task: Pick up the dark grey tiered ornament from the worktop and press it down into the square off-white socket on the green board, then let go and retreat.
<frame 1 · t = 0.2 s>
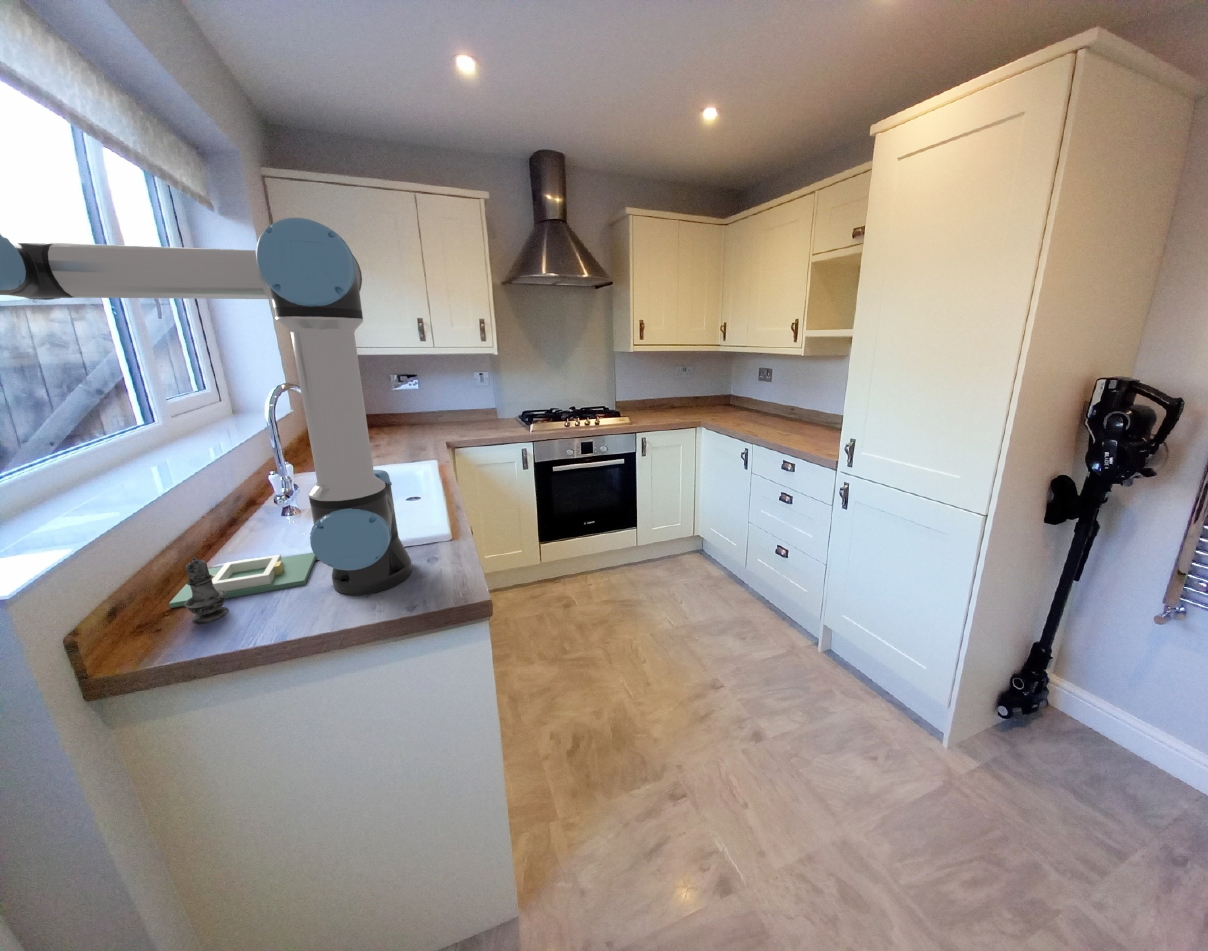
header board: (251, 579, 97), on the counter
dark grey tiered ornament: (210, 616, 85), on the counter
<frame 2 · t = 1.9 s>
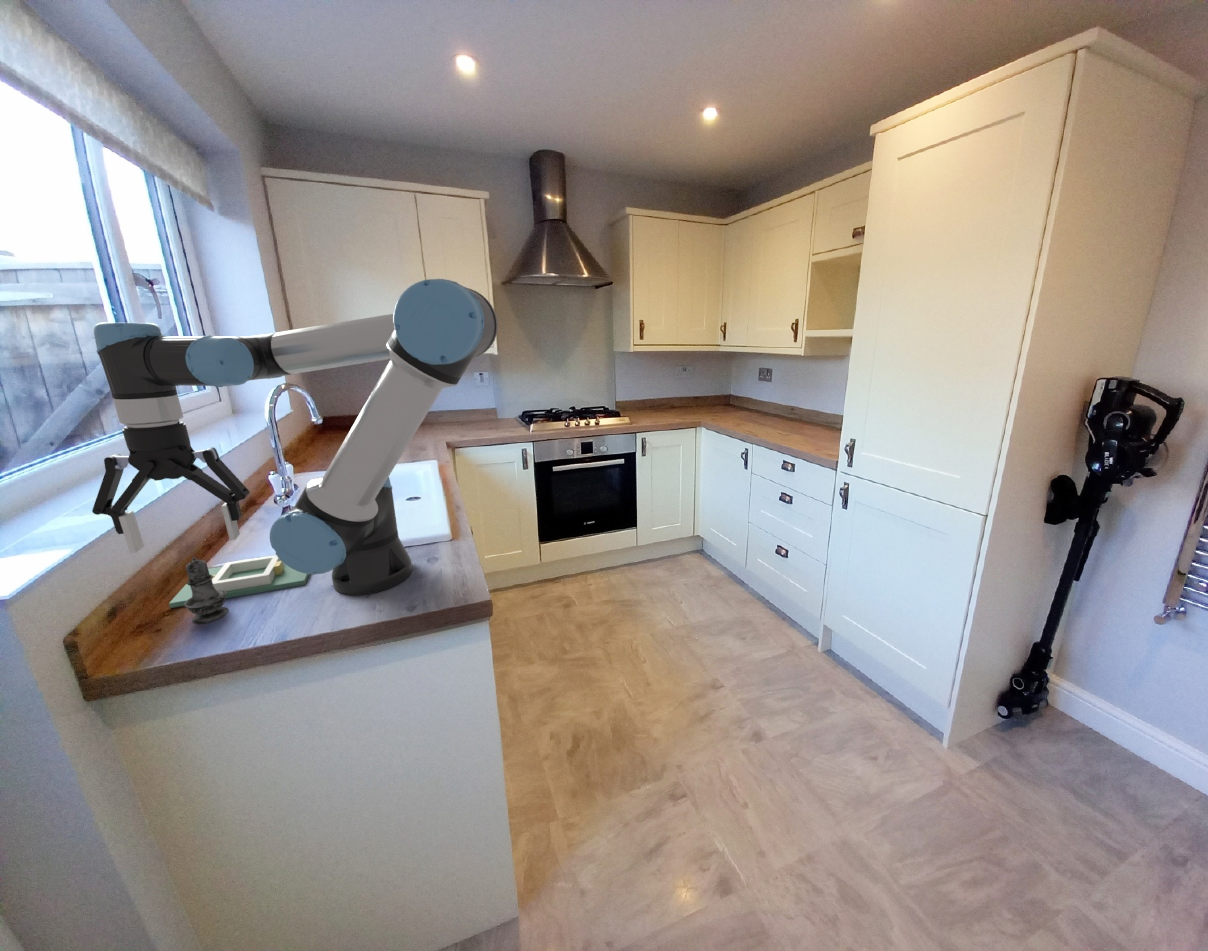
hand: (187, 543, 81), 14 cm above the counter, fingers open, 13 cm apart
nothing on the counter moved.
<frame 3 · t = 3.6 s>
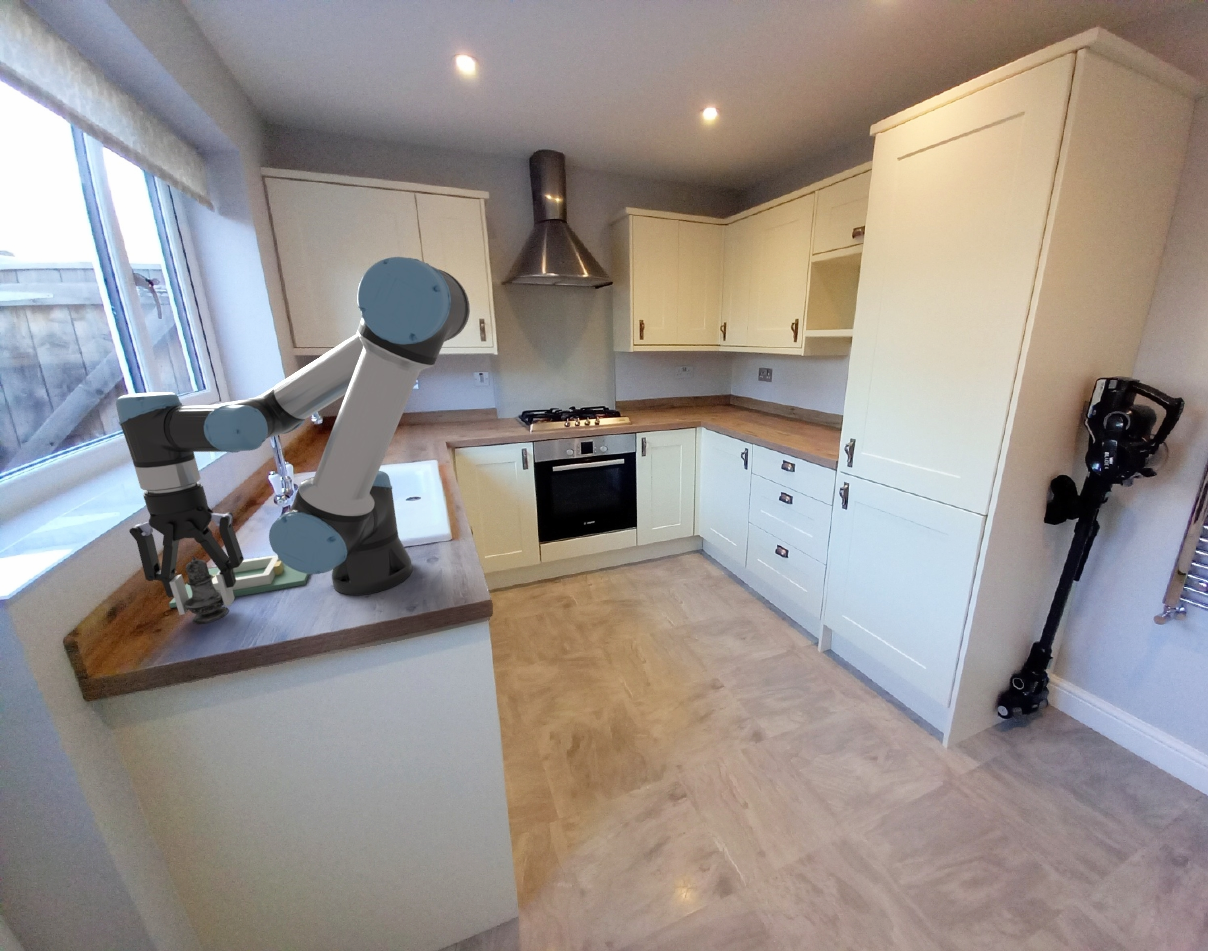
hand: (207, 606, 84), 2 cm above the counter, fingers closed on dark grey tiered ornament, 6 cm apart
dark grey tiered ornament: (210, 616, 85), on the counter, touching gripper
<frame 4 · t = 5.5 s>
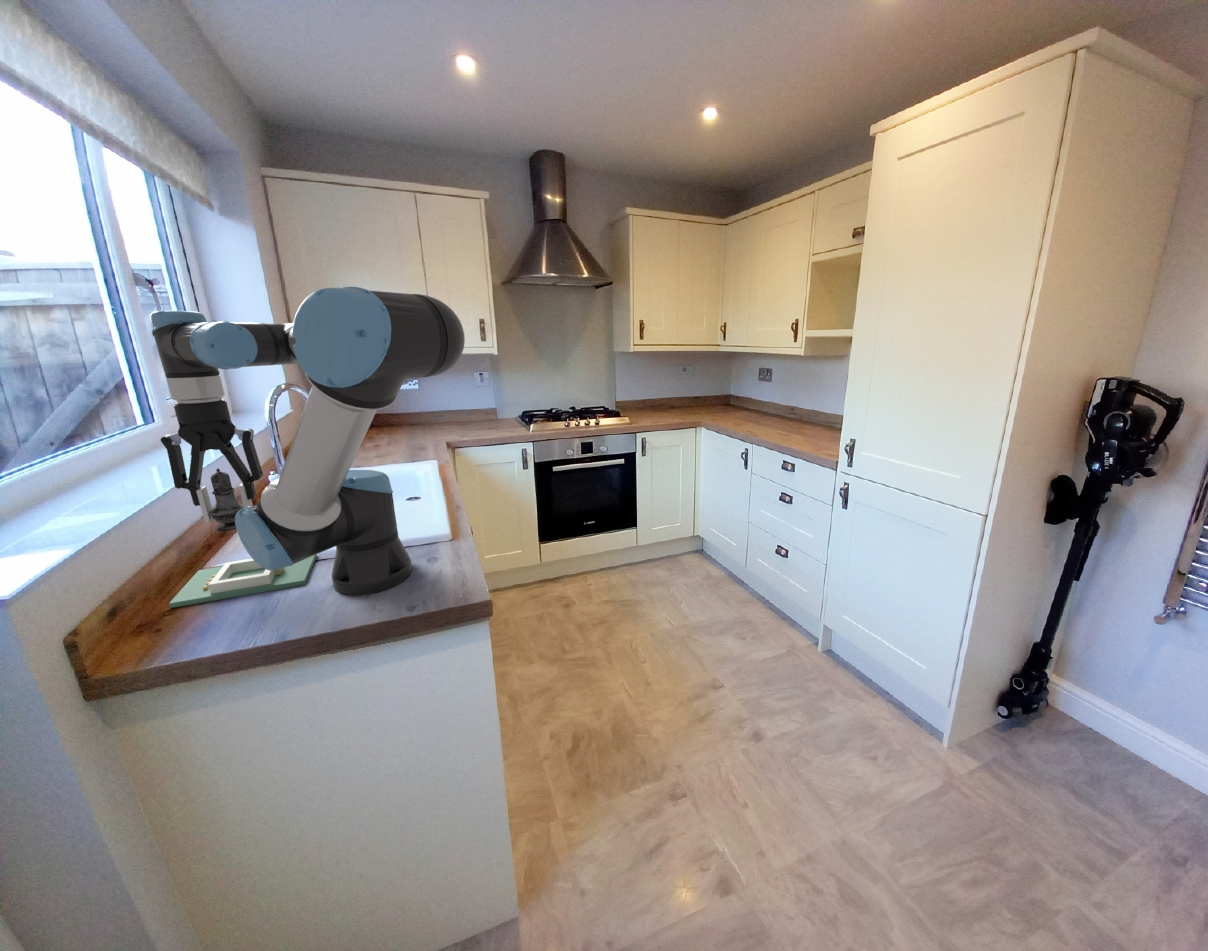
hand: (230, 517, 92), 15 cm above the counter, fingers closed on dark grey tiered ornament, 6 cm apart
dark grey tiered ornament: (233, 526, 92), point 13 cm above the counter, touching gripper
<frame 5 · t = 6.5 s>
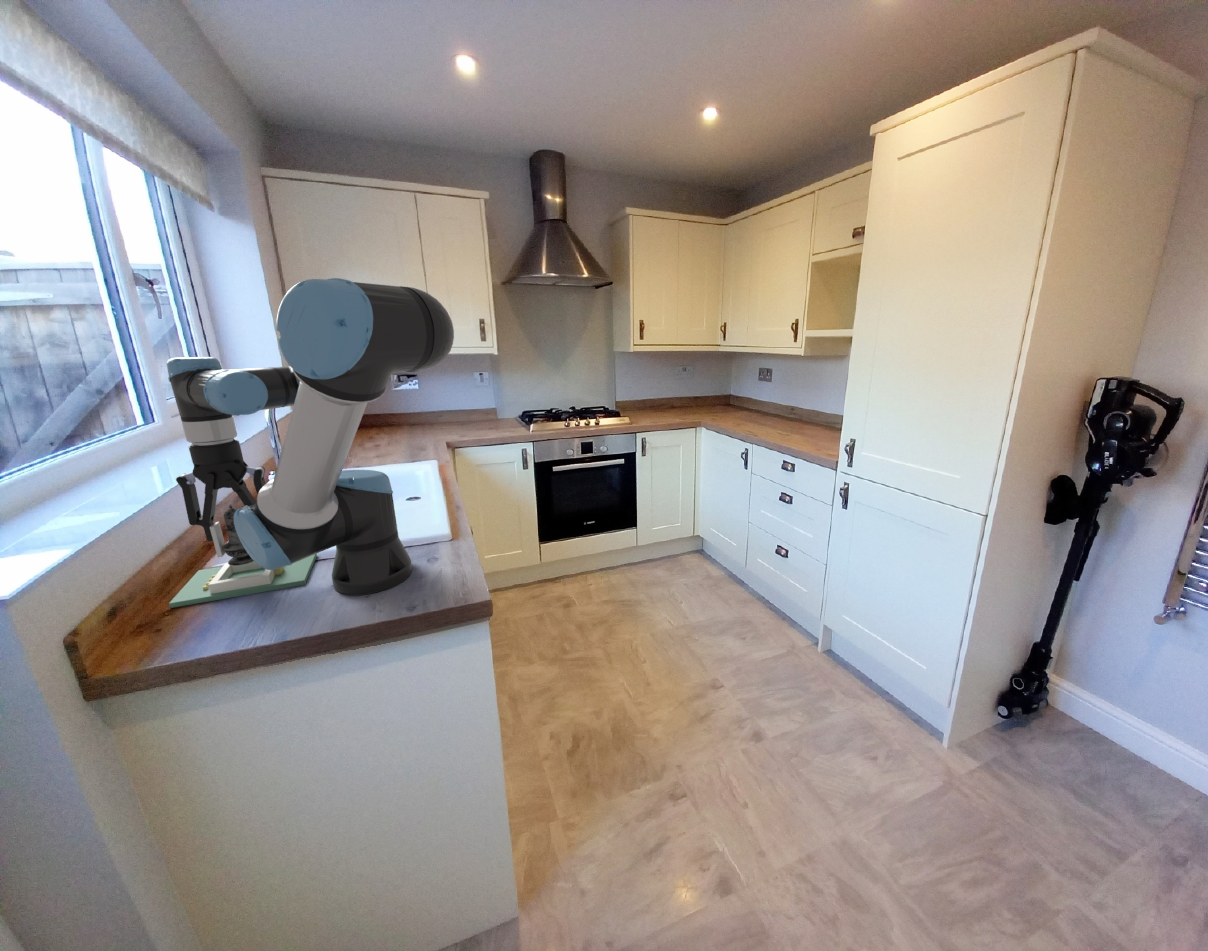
hand: (242, 551, 95), 7 cm above the counter, fingers closed on dark grey tiered ornament, 6 cm apart
dark grey tiered ornament: (244, 560, 95), point 5 cm above the counter, touching gripper
when the fingers open (4 cm above the counter, at t = 7.5 s): dark grey tiered ornament stays where it is, resting on header board.
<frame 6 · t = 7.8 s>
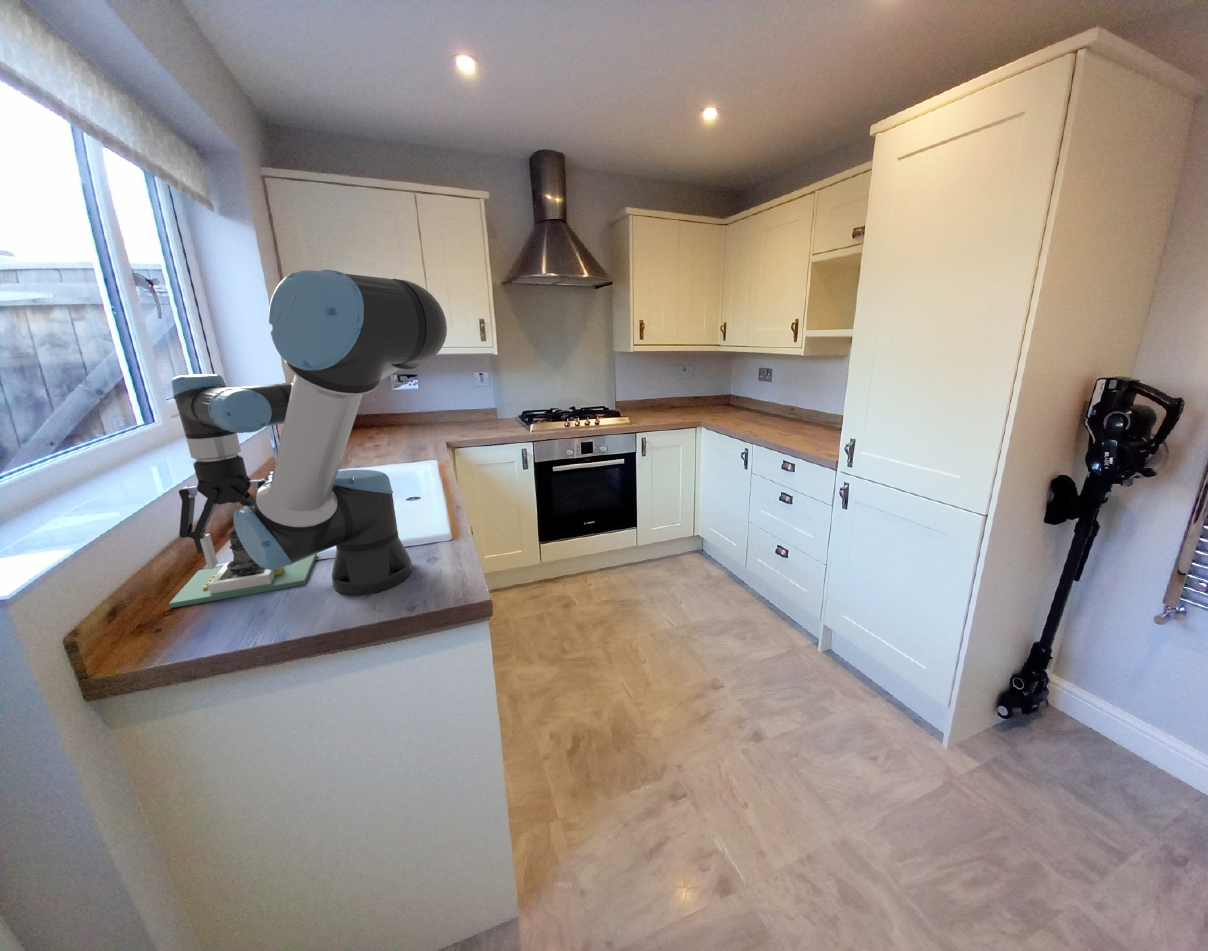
hand: (244, 561, 95), 5 cm above the counter, fingers open, 10 cm apart
dark grey tiered ornament: (249, 578, 96), point 1 cm above the counter, touching header board
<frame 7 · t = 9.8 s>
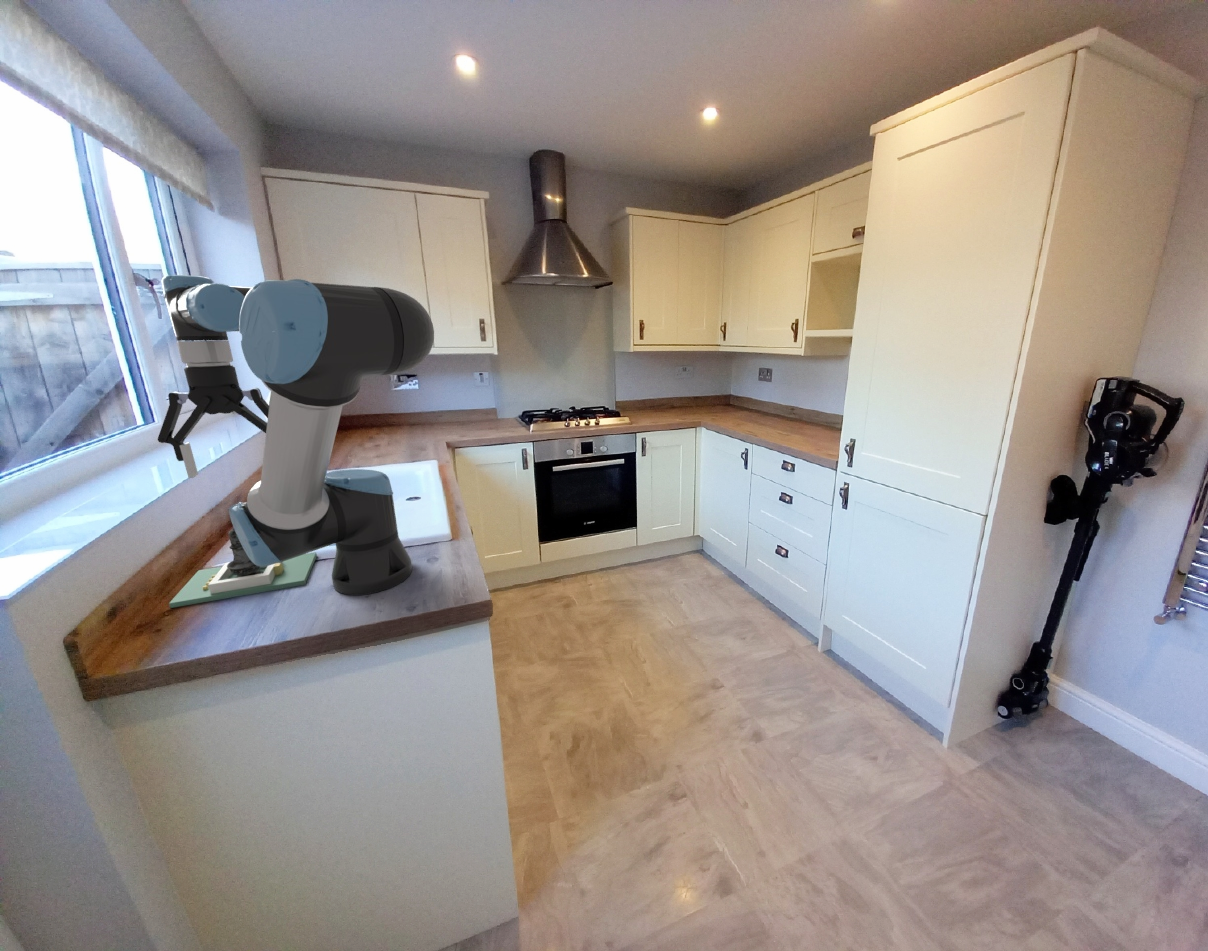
hand: (235, 472, 94), 23 cm above the counter, fingers open, 13 cm apart
nothing on the counter moved.
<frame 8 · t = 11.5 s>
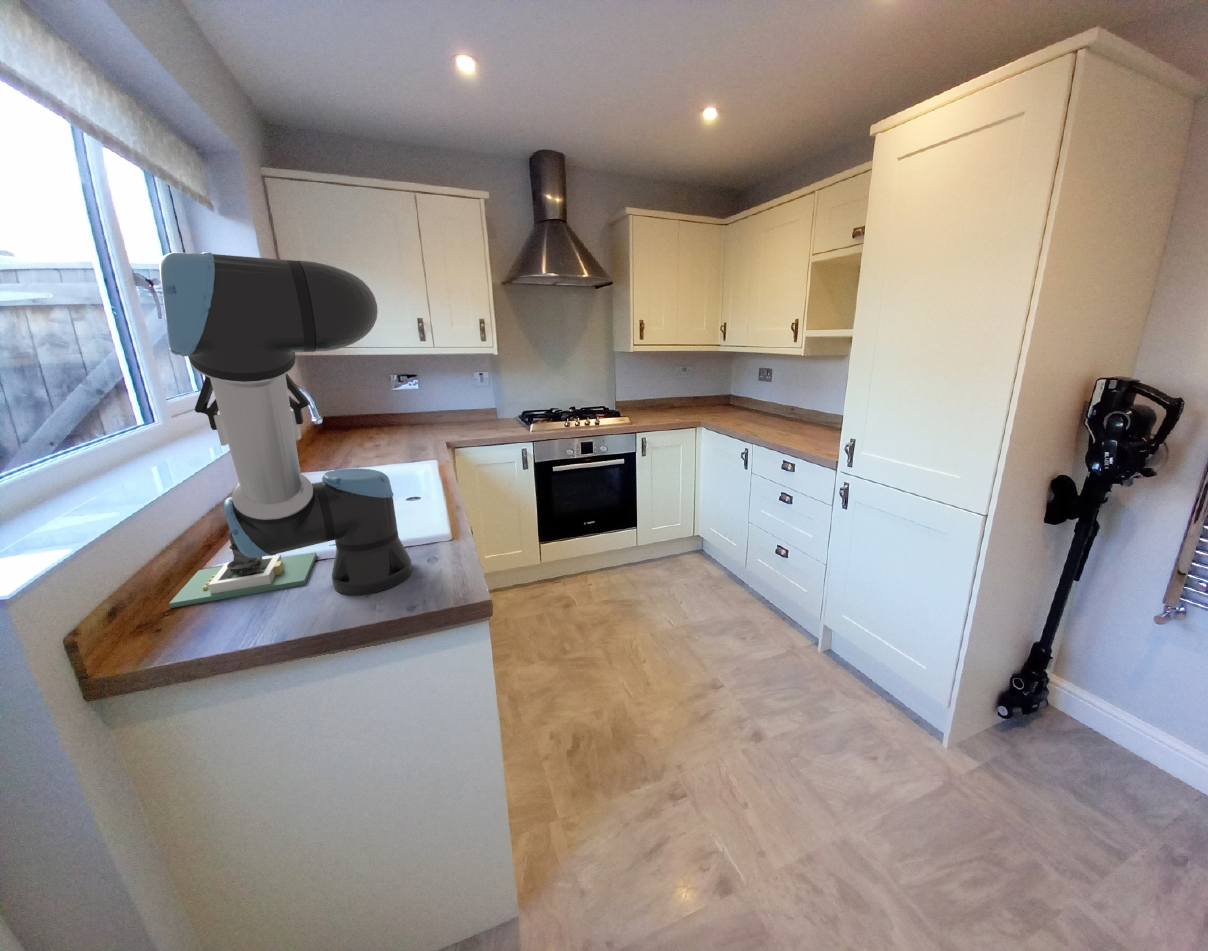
hand: (262, 441, 103), 27 cm above the counter, fingers open, 13 cm apart
nothing on the counter moved.
at the end: dark grey tiered ornament 0.0 cm from the target spot on the header board, point 0.8 cm above the header board's base; dark grey tiered ornament tilted 0°; the gripper is holding nothing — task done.
